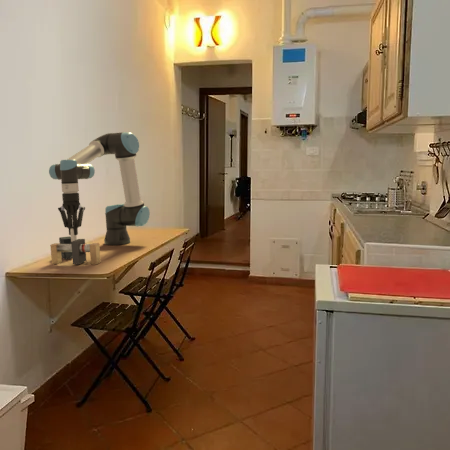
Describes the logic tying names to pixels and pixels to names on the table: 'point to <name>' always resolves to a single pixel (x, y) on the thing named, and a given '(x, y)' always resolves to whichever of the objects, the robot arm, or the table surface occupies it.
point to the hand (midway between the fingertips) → (74, 241)
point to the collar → (76, 255)
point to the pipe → (59, 248)
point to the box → (65, 241)
